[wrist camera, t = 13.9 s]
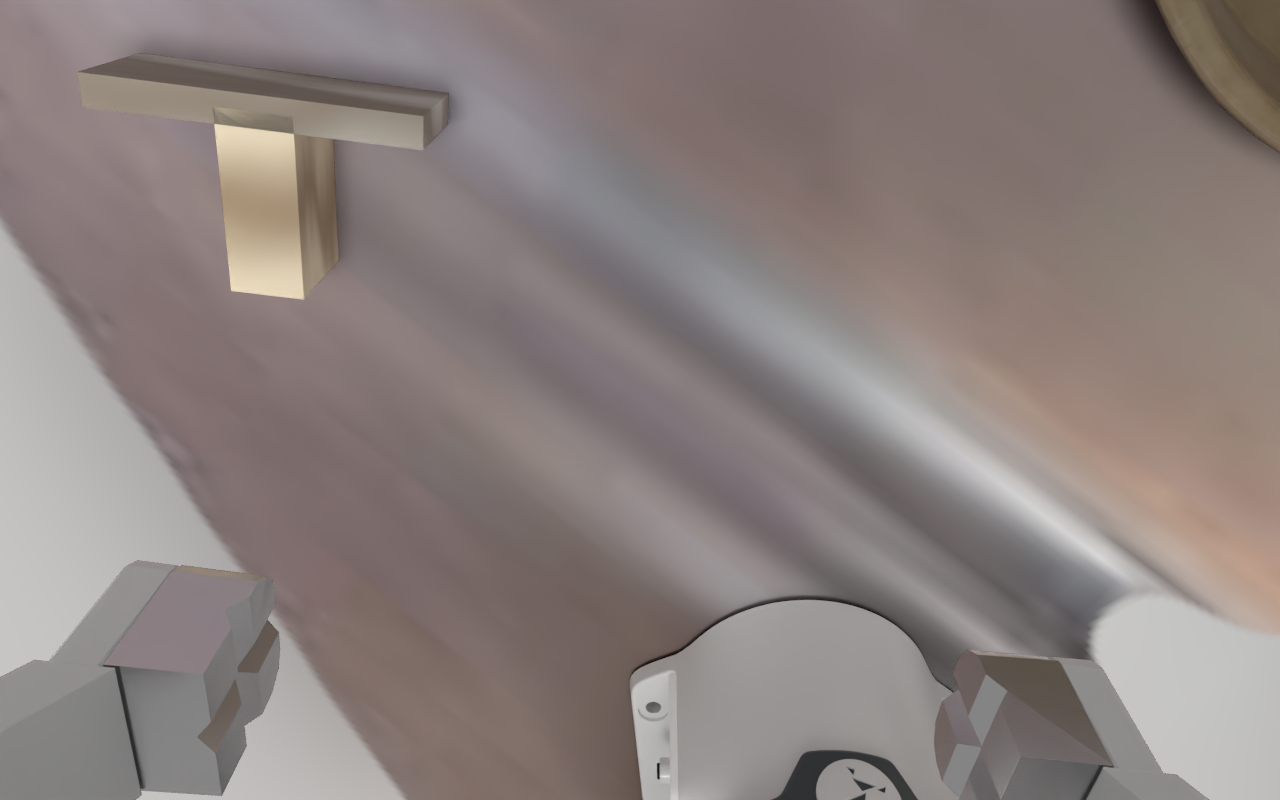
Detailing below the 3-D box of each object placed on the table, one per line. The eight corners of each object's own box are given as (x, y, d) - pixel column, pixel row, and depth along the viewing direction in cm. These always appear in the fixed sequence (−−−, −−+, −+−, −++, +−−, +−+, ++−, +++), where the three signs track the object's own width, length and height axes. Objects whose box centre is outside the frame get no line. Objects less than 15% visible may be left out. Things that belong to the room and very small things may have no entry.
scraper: (445, 273, 40) (422, 313, 36) (165, 239, 39) (111, 276, 35) (448, 92, 36) (423, 116, 32) (140, 52, 36) (76, 72, 32)
